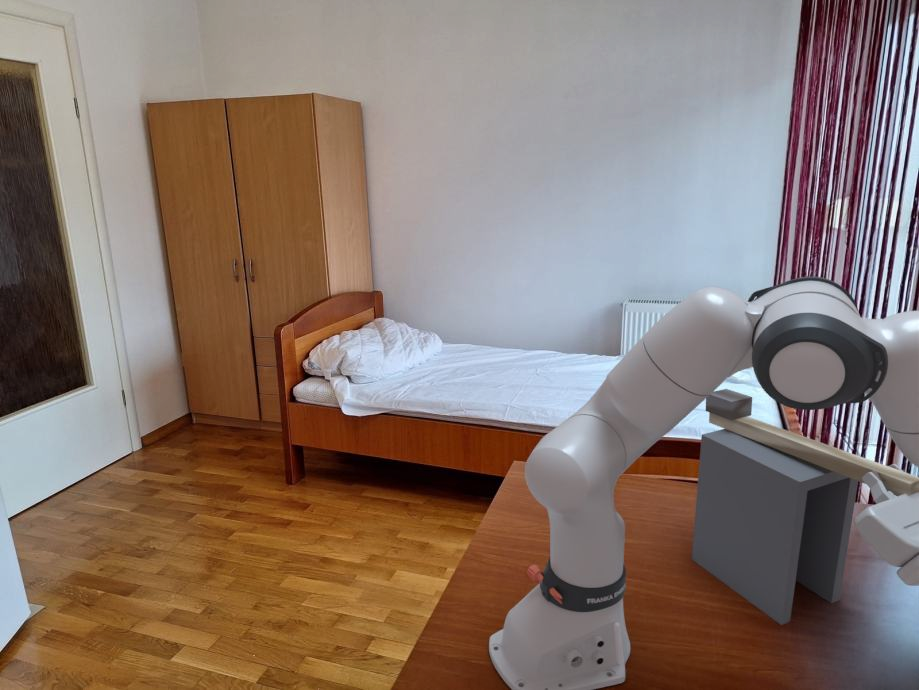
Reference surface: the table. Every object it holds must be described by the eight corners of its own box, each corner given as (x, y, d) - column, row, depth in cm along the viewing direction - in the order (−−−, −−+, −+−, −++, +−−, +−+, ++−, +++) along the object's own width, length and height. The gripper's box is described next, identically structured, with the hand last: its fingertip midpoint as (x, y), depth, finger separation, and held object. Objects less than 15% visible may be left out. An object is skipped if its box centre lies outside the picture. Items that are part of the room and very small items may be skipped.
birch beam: (903, 502, 86) (908, 461, 84) (705, 423, 118) (706, 393, 117) (926, 493, 88) (931, 454, 86) (724, 418, 120) (726, 388, 119)
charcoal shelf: (781, 625, 102) (799, 482, 95) (691, 559, 120) (701, 434, 113) (839, 600, 108) (861, 462, 101) (745, 540, 125) (758, 420, 118)
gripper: (1024, 522, 84) (936, 443, 93) (929, 564, 76) (844, 473, 85) (989, 546, 88) (908, 467, 97) (896, 588, 81) (818, 498, 89)
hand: (877, 470), depth 91 cm, fingers closed on birch beam, 3 cm apart
